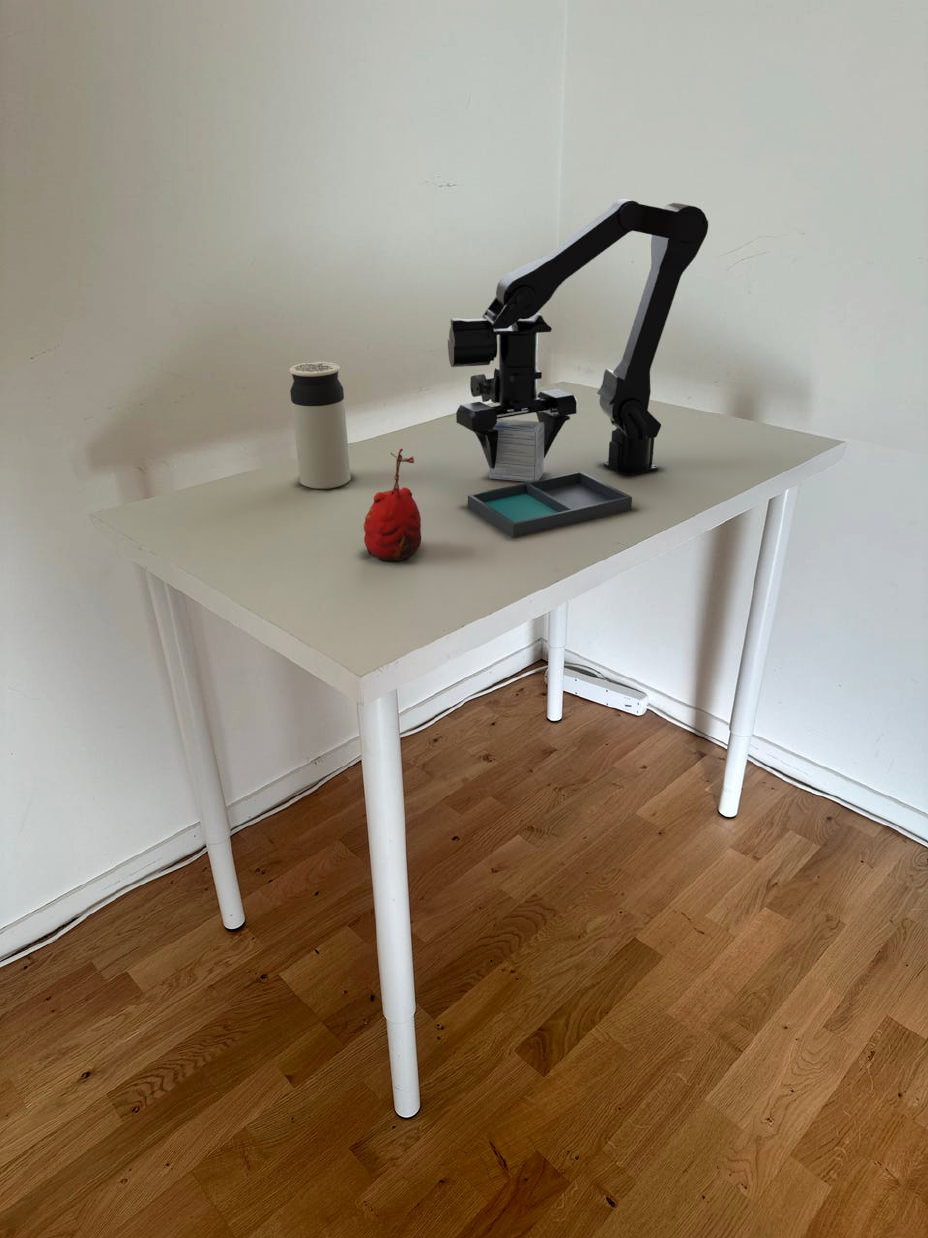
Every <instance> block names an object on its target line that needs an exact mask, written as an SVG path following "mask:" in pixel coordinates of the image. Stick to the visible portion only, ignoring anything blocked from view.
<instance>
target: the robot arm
mask: <svg viewBox="0 0 928 1238" xmlns="http://www.w3.org/2000/svg"><path fill="white" fill-rule="evenodd" d="M708 230H709V220H708V218H707V217H706V214H705V212H704V211H703V210H702V209H701V208H700V207H697V206H695V205H690V204H685V203H678V202H672V203H668V204H667V205H665V206H664V207H662V208H661V207H657V206H652V205H647V204H643V203H640V202H638V201H637V200H636V201H635V200H631V199H627V198H620V199H618V200H616V201H614V202H613V203H612V205H611V206H610V207H609V208H608V209H607V210H605V211H604V212H603V213H601V214H600V215H598V216H597V217H596V218H594V219H593V220H592V221H590V222H589V223H588V224H586V225H585V226H584V227H583V228H581V229H580V230H578V231H577V232H576V233H574V234H573V235H572V236H570V237H569V238H567V240H565V241H564V242H563V243H561V244H560V245H558V247H556V248H555V249H553V250H552V251H550V252H549V253H548V254H547V255H545V256H543V257H541V258H538V259H536V260H534V261H531V262H528V263H526V264H523V265H521V266H520V267H518V268H515V269H514V270H512V271H510V272H507V273H506V274H504V275H503V276H502V277H501V278H500V279H499V281H498V283H497V286H496V289H495V297H494V298H493V299H492V301H491V303H490V304H489V305H488V307H487V308H486V310H485V312H484V313H483V314H482V318H481V317H480V318H460V317H457V318H456V317H455V318H451V319H450V327H449V334H448V338H447V352H448V353H447V355H448V360H449V365H450V367H451V368H462V367H480V366H490V365H491V362H494V361H495V358H497V356H498V367H495V368H494V370H493V377H492V378H487V375H486V374H485V373H481V374H475V375H471V376H470V383H469V384H470V385H469V388H470V393H471V396H472V397H473V398H477V397H481V401H482V402H481V401H475V402H469V403H463V404H460V405H459V406H458V408H457V410H456V412H455V416H456V417H455V419H456V423H457V424H458V425H460V426H462V427H464V428H465V429H467V430H470V431H471V432H473V433H474V434H475V435H476V437H477V439H478V442H479V444H480V446H481V449H482V451H483V454H484V456H485V460H486V463H487V465H488V468H489V469H490V468H491V469H494V468H495V464H496V456H497V443H498V430H497V429H495V428H493V427H494V426H495V425H496V423H497V419H506V418H510V417H516V416H522V415H529V414H534V413H535V414H536V418H537V420H538V422H543V423H544V459H545V458H546V456H547V454H548V452H549V450H550V449H551V447H552V445H553V443H554V441H555V439H556V437H557V436H558V434H559V432H560V431H561V429H562V428H563V426H564V424H565V423H566V422H567V421H570V420H571V415H576V414H577V413H578V402H579V401H578V399H577V398H576V396H575V395H574V394H572V393H570V392H567V391H565V390H562V389H560V388H554V389H548V390H542V391H539V393H537V392H538V391H537V390H538V380H541V379H542V378H543V371H541V370H539V369H538V345H539V344H538V343H539V342H538V340H539V337H538V336H539V334H540V333H541V334H543V333H551V332H552V331H553V327H552V326H550V325H549V324H548V323H547V322H546V320H545V319H544V316H543V315H541V313H539V311H541V310H542V308H543V307H544V306H545V305H546V304H547V303H548V302H549V301H550V300H551V299H552V298H553V296H554V295H555V294H556V292H557V290H558V289H559V288H560V287H561V285H562V284H563V283H564V282H565V281H566V280H567V279H569V278H570V277H572V276H573V275H574V274H576V273H577V272H578V271H579V270H581V269H582V268H583V267H585V266H586V265H588V264H589V263H590V262H591V261H593V260H594V259H596V258H597V257H598V256H599V255H601V254H603V252H605V251H606V250H608V249H609V248H610V247H612V246H613V245H615V243H617V242H619V240H621V239H623V238H624V237H625V236H626V235H628V234H629V233H631V232H636V233H642V234H645V235H646V234H647V235H650V236H651V240H650V270H649V272H648V275H647V279H646V282H645V285H644V288H643V292H642V295H641V298H640V301H639V303H638V304H639V305H638V307H637V310H636V314H635V317H634V320H633V324H632V327H631V330H630V333H629V336H628V339H627V342H626V346H625V348H624V352H623V355H622V358H621V361H620V362H619V363H618V365H617V366H616V367H615V368H614V370H611V369H609V368H605V370H604V372H603V377H602V383H601V385H600V387H599V389H598V390H597V392H596V394H598V395H599V400H598V401H599V406H600V408H601V410H602V412H603V413H604V414H605V415H606V416H607V417H608V418H609V421H610V423H611V425H612V426H614V427H615V430H611V438H610V441H609V442H608V443H609V444H608V456H607V457H608V460H607V461H604V462H603V466H604V467H606V468H609V469H611V470H612V471H614V472H617V473H619V474H621V475H623V476H624V477H631V476H635V475H640V474H645V473H649V472H654V471H658V470H659V465H656V464H654V463H653V461H654V460H653V459H654V448H655V438H657V437H658V435H659V433H660V430H661V427H662V424H661V422H660V421H659V420H658V419H657V418H656V417H654V415H653V414H652V413H651V412H650V411H649V404H650V398H651V389H652V388H651V369H652V366H653V364H654V363H653V362H654V359H655V357H656V354H657V350H658V347H659V344H660V341H661V339H662V335H663V332H664V329H665V326H666V323H667V320H668V317H669V314H670V311H671V308H672V305H673V301H674V299H675V296H676V293H677V290H678V286H679V284H680V281H681V278H682V275H683V274H684V272H685V271H686V270H687V269H688V267H689V266H690V264H691V263H692V262H693V261H694V259H695V258H696V257H697V255H698V253H699V251H700V249H701V247H702V245H703V243H704V241H705V239H706V237H707V235H708ZM489 401H490V402H491V403H494V404H498V405H495V406H490V405H488V404H486V403H487V402H489Z"/></svg>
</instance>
